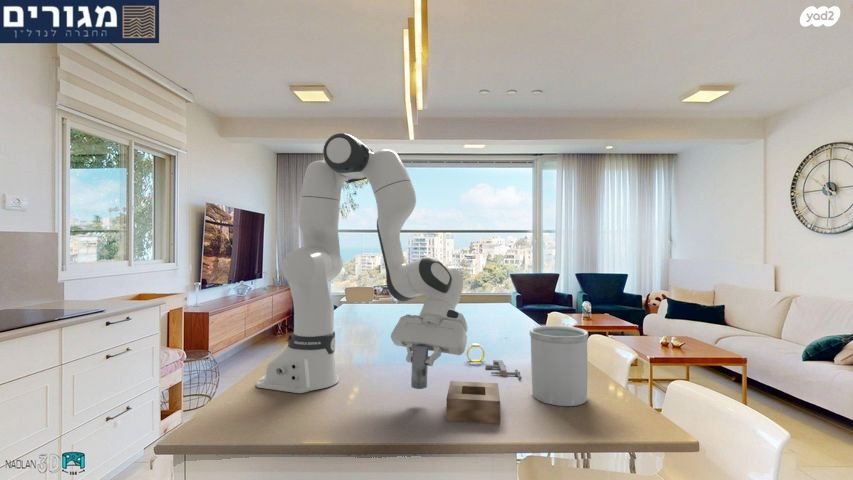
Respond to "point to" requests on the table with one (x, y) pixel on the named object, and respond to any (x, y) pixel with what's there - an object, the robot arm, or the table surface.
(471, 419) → the socket
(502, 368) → the clamp
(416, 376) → the peg
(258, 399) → the table surface
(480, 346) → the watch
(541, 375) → the utensil holder
